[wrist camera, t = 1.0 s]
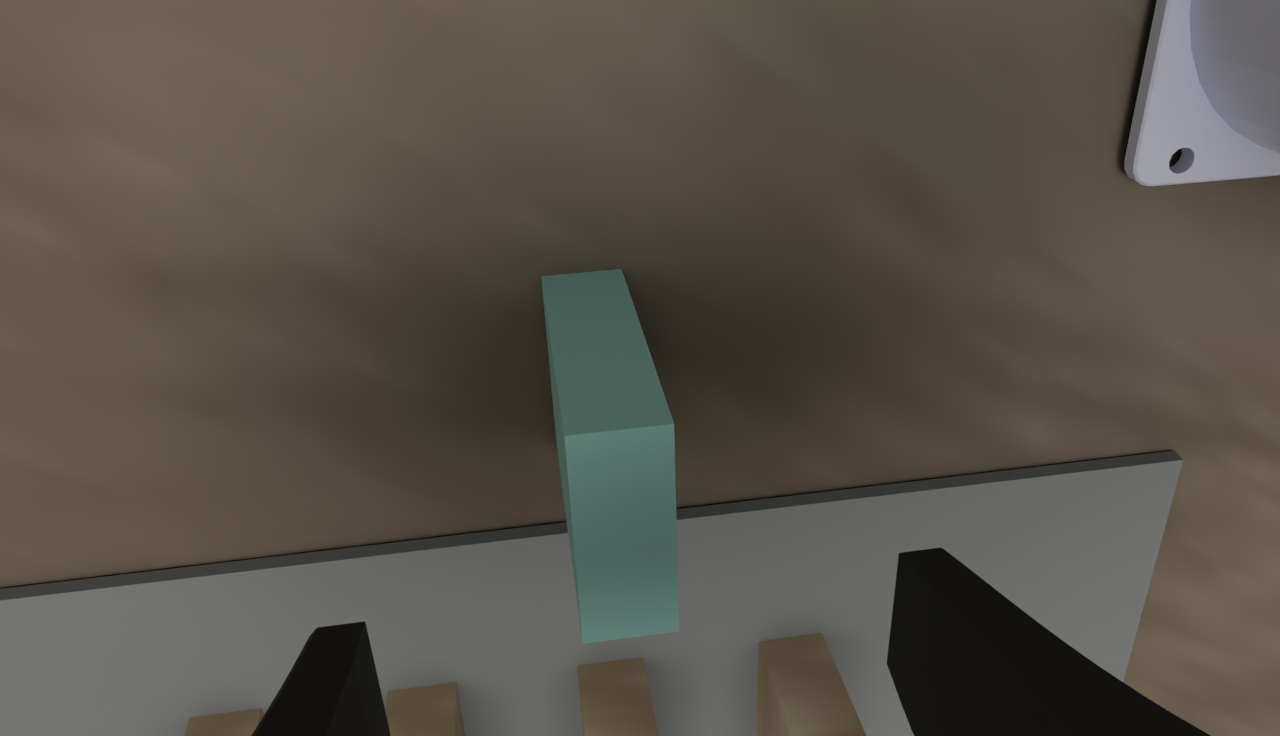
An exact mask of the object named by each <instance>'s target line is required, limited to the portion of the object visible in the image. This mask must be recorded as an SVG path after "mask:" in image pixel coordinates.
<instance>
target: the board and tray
mask: <svg viewBox="0 0 1280 736" xmlns="http://www.w3.org/2000/svg"><path fill="white" fill-rule="evenodd" d="M1182 463H1183V459H1182V458H1181V457H1180V456H1178V455H1177V454H1176V453H1175V452H1174V451H1167V452H1159V453H1150V454H1142V455H1133V456H1125V457H1116V458H1108V459H1099V460H1091V461H1082V462H1074V463H1065V464H1057V465H1048V466H1040V467H1031V468H1023V469H1014V470H1006V471H997V472H989V473H980V474H972V475H963V476H955V477H946V478H938V479H929V480H921V481H912V482H904V483H895V484H887V485H878V486H870V487H861V488H853V489H844V490H836V491H827V492H819V493H810V494H802V495H793V496H785V497H776V498H768V499H759V500H751V501H742V502H734V503H725V504H717V505H708V506H700V507H691V508H683V509H676V519H677V561H678V603H679V631H677V632H669V633H662V634H654V635H646V636H639V637H631V638H624V639H616V640H609V641H601V642H593V643H586V644H582V636H581V629H580V621H579V613H578V606H577V598H576V590H575V583H574V575H573V567H572V560H571V552H570V544H569V537H568V529H567V522H564V523H555V524H547V525H538V526H530V527H521V528H513V529H504V530H496V531H488V532H479V533H471V534H462V535H454V536H445V537H437V538H428V539H420V540H411V541H403V542H394V543H386V544H377V545H369V546H360V547H352V548H343V549H335V550H326V551H318V552H309V553H301V554H292V555H284V556H275V557H267V558H258V559H250V560H241V561H233V562H224V563H216V564H207V565H199V566H190V567H182V568H173V569H165V570H156V571H148V572H139V573H131V574H122V575H114V576H105V577H97V578H88V579H80V580H71V581H63V582H54V583H46V584H37V585H29V586H20V587H12V588H3V589H0V736H184V735H185V731H186V728H187V725H188V722H189V719H190V718H191V717H198V716H205V715H213V714H220V713H228V712H235V711H243V710H250V709H258V708H262V712H263V715H265V713H266V711H267V710H268V708H269V706H270V705H271V703H272V701H273V700H274V698H275V696H276V695H277V693H278V691H279V690H280V688H281V686H282V685H283V683H284V681H285V679H286V678H287V676H288V674H289V673H290V671H291V669H292V667H293V665H294V664H295V662H296V660H297V658H298V656H299V655H300V653H301V651H302V649H303V647H304V645H305V644H306V642H307V640H308V638H309V636H310V635H311V634H312V633H313V632H314V630H315V629H316V628H317V627H325V626H332V625H340V624H348V623H356V622H364V621H365V622H366V627H367V631H368V636H369V640H370V645H371V649H372V654H373V658H374V662H375V667H376V671H377V676H378V680H379V685H380V689H381V694H382V698H383V703H384V707H385V712H386V703H387V694H388V691H392V690H400V689H407V688H415V687H422V686H430V685H437V684H444V683H452V682H456V685H457V690H458V696H459V702H460V708H461V714H462V719H463V725H464V731H465V736H584V735H583V724H582V713H581V702H580V691H579V680H578V669H577V666H579V665H586V664H594V663H601V662H609V661H616V660H624V659H631V658H639V657H643V661H644V666H645V671H646V676H647V681H648V686H649V691H650V696H651V701H652V706H653V711H654V716H655V721H656V726H657V730H658V735H659V736H756V729H757V693H758V657H759V641H766V640H773V639H781V638H788V637H795V636H803V635H810V634H818V633H822V635H823V637H824V639H825V641H826V644H827V646H828V648H829V651H830V653H831V655H832V658H833V660H834V662H835V664H836V667H837V669H838V671H839V674H840V676H841V678H842V681H843V683H844V685H845V687H846V690H847V692H848V694H849V697H850V699H851V701H852V703H853V706H854V708H855V710H856V713H857V715H858V717H859V720H860V722H861V724H862V726H863V729H864V731H865V733H866V736H914V734H913V732H912V730H911V727H910V725H909V722H908V720H907V717H906V714H905V712H904V709H903V707H902V704H901V702H900V699H899V696H898V693H897V690H896V688H895V685H894V682H893V679H892V677H891V674H890V671H889V668H888V665H887V656H888V647H889V638H890V629H891V620H892V611H893V602H894V593H895V584H896V575H897V566H898V557H899V553H902V552H909V551H917V550H925V549H933V548H943V549H944V550H946V551H947V552H948V553H950V554H951V555H952V556H953V557H955V558H956V559H957V560H959V561H960V562H961V563H963V564H964V565H965V566H966V567H968V568H969V569H970V570H971V571H973V572H974V573H975V574H977V575H978V576H979V577H980V578H982V579H983V580H984V581H985V582H987V583H988V584H989V585H991V586H992V587H993V588H994V589H996V590H997V591H998V592H999V593H1001V594H1002V595H1003V596H1005V597H1006V598H1007V599H1008V600H1010V601H1011V602H1012V603H1014V604H1015V605H1016V606H1017V607H1019V608H1020V609H1021V610H1023V611H1024V612H1025V613H1027V614H1028V615H1029V616H1030V617H1032V618H1033V619H1034V620H1036V621H1037V622H1038V623H1040V624H1041V625H1042V626H1044V627H1045V628H1046V629H1048V630H1049V631H1050V632H1052V633H1053V634H1054V635H1056V636H1057V637H1059V638H1060V639H1061V640H1063V641H1064V642H1065V643H1067V644H1068V645H1070V646H1071V647H1072V648H1074V649H1075V650H1077V651H1078V652H1079V653H1081V654H1082V655H1084V656H1085V657H1086V658H1088V659H1089V660H1091V661H1092V662H1094V663H1095V664H1096V665H1098V666H1099V667H1101V668H1102V669H1104V670H1105V671H1107V672H1108V673H1110V674H1111V675H1113V676H1114V677H1116V678H1117V679H1119V680H1120V681H1122V682H1123V681H1124V677H1125V673H1126V670H1127V666H1128V662H1129V659H1130V655H1131V651H1132V648H1133V644H1134V640H1135V637H1136V633H1137V629H1138V626H1139V622H1140V618H1141V614H1142V611H1143V607H1144V603H1145V600H1146V596H1147V592H1148V589H1149V585H1150V581H1151V578H1152V574H1153V570H1154V567H1155V563H1156V559H1157V556H1158V552H1159V548H1160V544H1161V541H1162V537H1163V533H1164V530H1165V526H1166V522H1167V519H1168V515H1169V511H1170V508H1171V504H1172V500H1173V497H1174V493H1175V489H1176V486H1177V482H1178V478H1179V474H1180V471H1181V467H1182Z"/></svg>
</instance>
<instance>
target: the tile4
mask: <svg viewBox="0 0 1280 736" xmlns="http://www.w3.org/2000/svg"><path fill="white" fill-rule="evenodd" d="M386 716H387V720H388V725H389V729H390V736H465V731H464V725H463V719H462V714H461V708H460V702H459V696H458V690H457V685H456V682H452V683H444V684H437V685H430V686H422V687H415V688H407V689H400V690H392V691H388V694H387V703H386Z"/></svg>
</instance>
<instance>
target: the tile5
mask: <svg viewBox="0 0 1280 736" xmlns="http://www.w3.org/2000/svg"><path fill="white" fill-rule="evenodd" d="M263 716H264V715H263V712H262V708H258V709H250V710H243V711H235V712H228V713H220V714H213V715H205V716H198V717H191V718H190V719H189V722H188V725H187V728H186V731H185V735H184V736H251V735H252V734H253V732H254V730H255V729H256V727H257V726H258V724H259V723H260V721H261V720H262V718H263Z"/></svg>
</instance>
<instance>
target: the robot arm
mask: <svg viewBox="0 0 1280 736" xmlns="http://www.w3.org/2000/svg"><path fill="white" fill-rule="evenodd" d="M1181 148H1182V155H1181V157H1180V159H1179V161H1178V162H1177V163H1176V164H1175V165H1174V166H1172V167H1169V161H1170V159H1171V157H1172V155H1173V154H1174V153H1175V152H1176V151H1177V150H1179V149H1181ZM1124 169H1125V171H1126V173H1127V175H1128V177H1130V178H1131V179H1132V180H1134V181H1136V182H1138V183H1140V184H1141V185H1145V186H1162V185H1173V184H1185V183H1197V182H1208V181H1220V180H1232V179H1243V178H1255V177H1267V176H1278V175H1280V0H1157V2H1156V6H1155V11H1154V16H1153V21H1152V26H1151V31H1150V36H1149V41H1148V46H1147V51H1146V56H1145V61H1144V66H1143V71H1142V76H1141V81H1140V86H1139V91H1138V96H1137V101H1136V106H1135V110H1134V115H1133V120H1132V125H1131V130H1130V135H1129V140H1128V145H1127V150H1126V155H1125V164H1124ZM887 665H888V668H889V671H890V674H891V677H892V679H893V682H894V685H895V688H896V690H897V693H898V696H899V699H900V702H901V704H902V707H903V709H904V712H905V714H906V717H907V720H908V722H909V725H910V727H911V730H912V732H913V734H914V736H1210V735H1209V734H1207V733H1205V732H1203V731H1202V730H1200V729H1198V728H1196V727H1195V726H1193V725H1191V724H1190V723H1188V722H1186V721H1184V720H1183V719H1181V718H1179V717H1177V716H1176V715H1174V714H1172V713H1171V712H1169V711H1167V710H1166V709H1164V708H1162V707H1161V706H1159V705H1157V704H1156V703H1154V702H1153V701H1151V700H1149V699H1148V698H1146V697H1145V696H1143V695H1141V694H1140V693H1138V692H1137V691H1135V690H1134V689H1132V688H1131V687H1129V686H1128V685H1126V684H1125V683H1123V682H1122V681H1120V680H1119V679H1117V678H1116V677H1114V676H1113V675H1111V674H1110V673H1108V672H1107V671H1105V670H1104V669H1102V668H1101V667H1099V666H1098V665H1096V664H1095V663H1094V662H1092V661H1091V660H1089V659H1088V658H1086V657H1085V656H1084V655H1082V654H1081V653H1079V652H1078V651H1077V650H1075V649H1074V648H1072V647H1071V646H1070V645H1068V644H1067V643H1065V642H1064V641H1063V640H1061V639H1060V638H1059V637H1057V636H1056V635H1054V634H1053V633H1052V632H1050V631H1049V630H1048V629H1046V628H1045V627H1044V626H1042V625H1041V624H1040V623H1038V622H1037V621H1036V620H1034V619H1033V618H1032V617H1030V616H1029V615H1028V614H1027V613H1025V612H1024V611H1023V610H1021V609H1020V608H1019V607H1017V606H1016V605H1015V604H1014V603H1012V602H1011V601H1010V600H1008V599H1007V598H1006V597H1005V596H1003V595H1002V594H1001V593H999V592H998V591H997V590H996V589H994V588H993V587H992V586H991V585H989V584H988V583H987V582H985V581H984V580H983V579H982V578H980V577H979V576H978V575H977V574H975V573H974V572H973V571H971V570H970V569H969V568H968V567H966V566H965V565H964V564H963V563H961V562H960V561H959V560H957V559H956V558H955V557H953V556H952V555H951V554H950V553H948V552H947V551H946V550H944V549H943V548H933V549H925V550H917V551H909V552H902V553H899V557H898V566H897V575H896V584H895V593H894V602H893V611H892V620H891V629H890V638H889V647H888V656H887ZM251 736H390V729H389V725H388V720H387V716H386V712H385V707H384V703H383V698H382V694H381V689H380V685H379V680H378V676H377V671H376V667H375V662H374V658H373V654H372V649H371V645H370V640H369V636H368V631H367V627H366V622H365V621H364V622H356V623H348V624H340V625H332V626H325V627H317V628H316V629H315V630H314V632H313V633H312V634H311V635H310V636H309V638H308V640H307V642H306V644H305V645H304V647H303V649H302V651H301V653H300V655H299V656H298V658H297V660H296V662H295V664H294V665H293V667H292V669H291V671H290V673H289V674H288V676H287V678H286V679H285V681H284V683H283V685H282V686H281V688H280V690H279V691H278V693H277V695H276V696H275V698H274V700H273V701H272V703H271V705H270V706H269V708H268V710H267V711H266V713H265V715H264V716H263V718H262V720H261V721H260V723H259V724H258V726H257V727H256V729H255V730H254V732H253V734H252V735H251Z"/></svg>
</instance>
